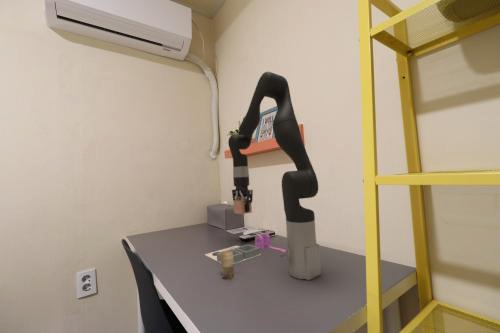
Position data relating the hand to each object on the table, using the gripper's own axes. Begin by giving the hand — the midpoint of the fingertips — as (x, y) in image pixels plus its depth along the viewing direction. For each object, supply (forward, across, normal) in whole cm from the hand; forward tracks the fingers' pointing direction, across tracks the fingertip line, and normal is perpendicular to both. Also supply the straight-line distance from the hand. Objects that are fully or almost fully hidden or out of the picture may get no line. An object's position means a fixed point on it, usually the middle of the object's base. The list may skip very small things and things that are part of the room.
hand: (242, 211), depth 111 cm
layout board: (+15, -12, +15) cm, 24 cm away
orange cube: (+1, 0, 0) cm, 1 cm away
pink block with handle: (+16, -18, -1) cm, 24 cm away
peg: (+15, -25, +25) cm, 38 cm away
